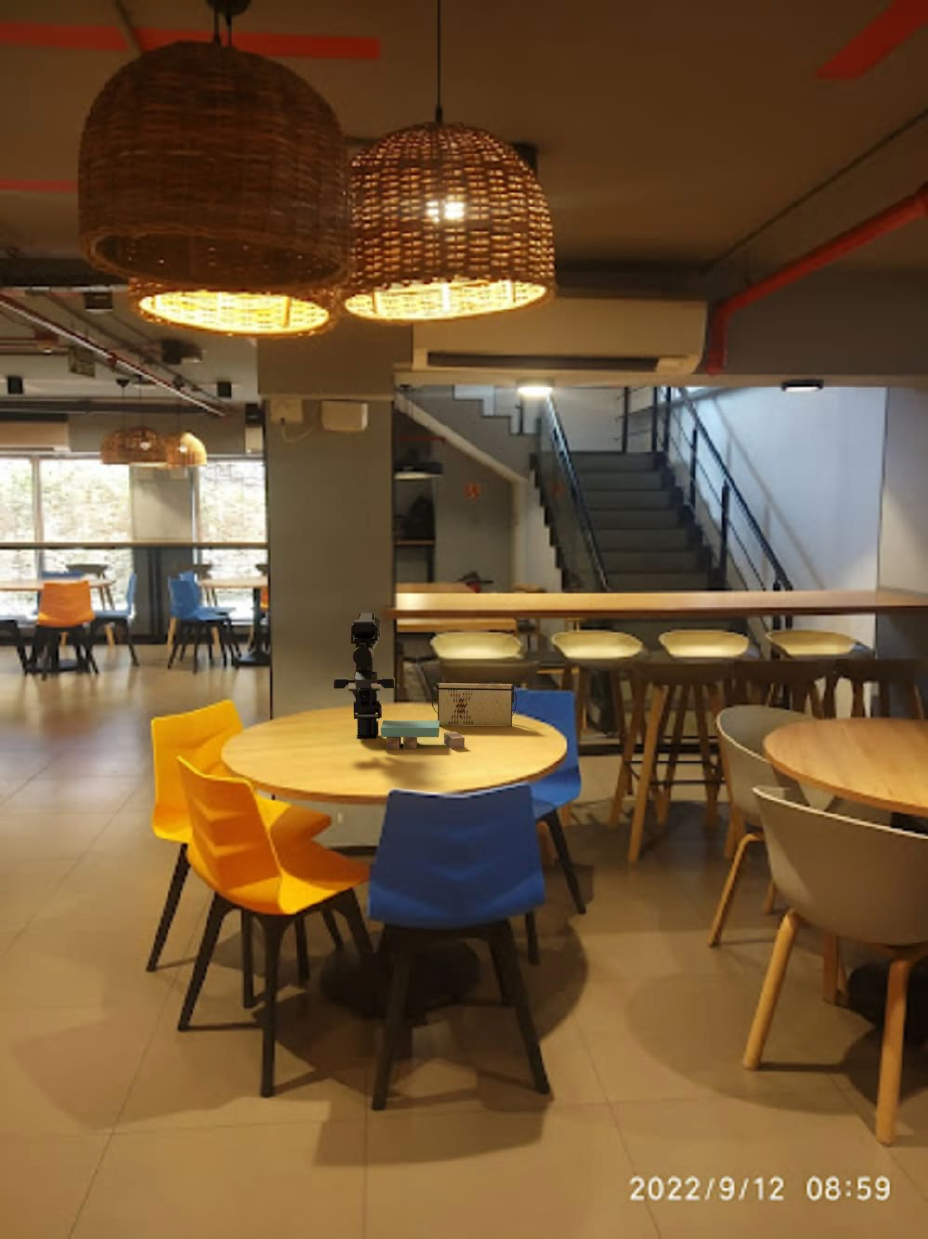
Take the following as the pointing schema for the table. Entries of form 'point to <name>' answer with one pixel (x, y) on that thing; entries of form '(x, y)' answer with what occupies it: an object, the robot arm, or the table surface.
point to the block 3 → (454, 740)
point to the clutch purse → (475, 704)
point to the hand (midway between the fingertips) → (364, 709)
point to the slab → (409, 728)
